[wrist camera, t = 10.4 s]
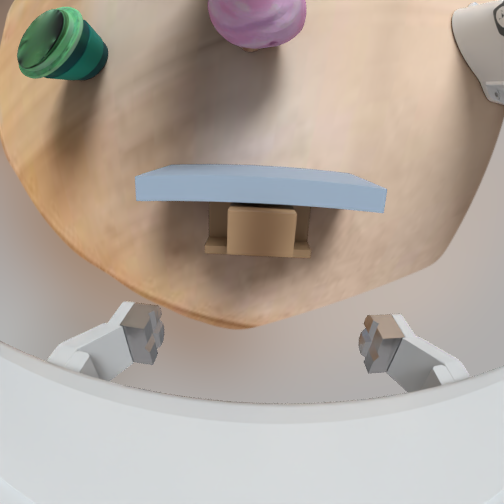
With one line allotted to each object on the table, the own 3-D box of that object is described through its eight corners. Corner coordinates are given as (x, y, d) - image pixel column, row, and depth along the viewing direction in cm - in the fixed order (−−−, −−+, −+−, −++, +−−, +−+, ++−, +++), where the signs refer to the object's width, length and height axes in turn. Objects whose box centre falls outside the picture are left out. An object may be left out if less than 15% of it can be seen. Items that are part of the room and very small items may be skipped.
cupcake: (206, 19, 22) (186, -22, 13) (276, -5, 20) (282, -51, 11) (238, 77, 25) (229, 48, 16) (310, 51, 23) (333, 16, 14)
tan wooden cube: (287, 195, 26) (297, 214, 20) (284, 233, 28) (291, 263, 21) (235, 193, 26) (227, 210, 20) (234, 231, 28) (227, 260, 21)
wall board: (349, 173, 29) (387, 189, 20) (340, 237, 32) (370, 276, 23) (171, 164, 29) (135, 176, 20) (173, 230, 32) (142, 266, 23)
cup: (83, 34, 21) (28, 11, 10) (132, 30, 22) (82, -6, 11) (66, 87, 24) (3, 80, 13) (113, 87, 25) (51, 73, 14)
